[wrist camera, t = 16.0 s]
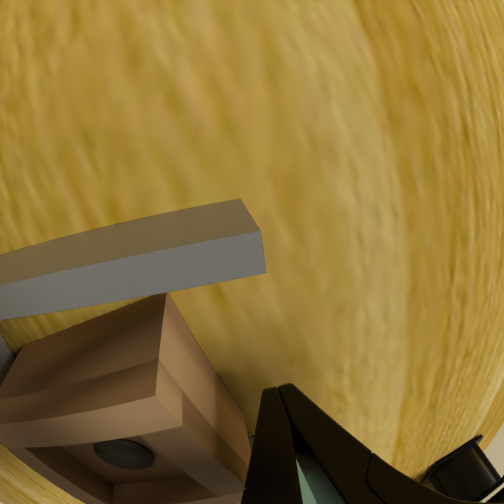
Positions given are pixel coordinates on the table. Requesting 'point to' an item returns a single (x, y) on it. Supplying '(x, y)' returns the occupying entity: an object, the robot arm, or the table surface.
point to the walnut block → (126, 412)
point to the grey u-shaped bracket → (130, 263)
